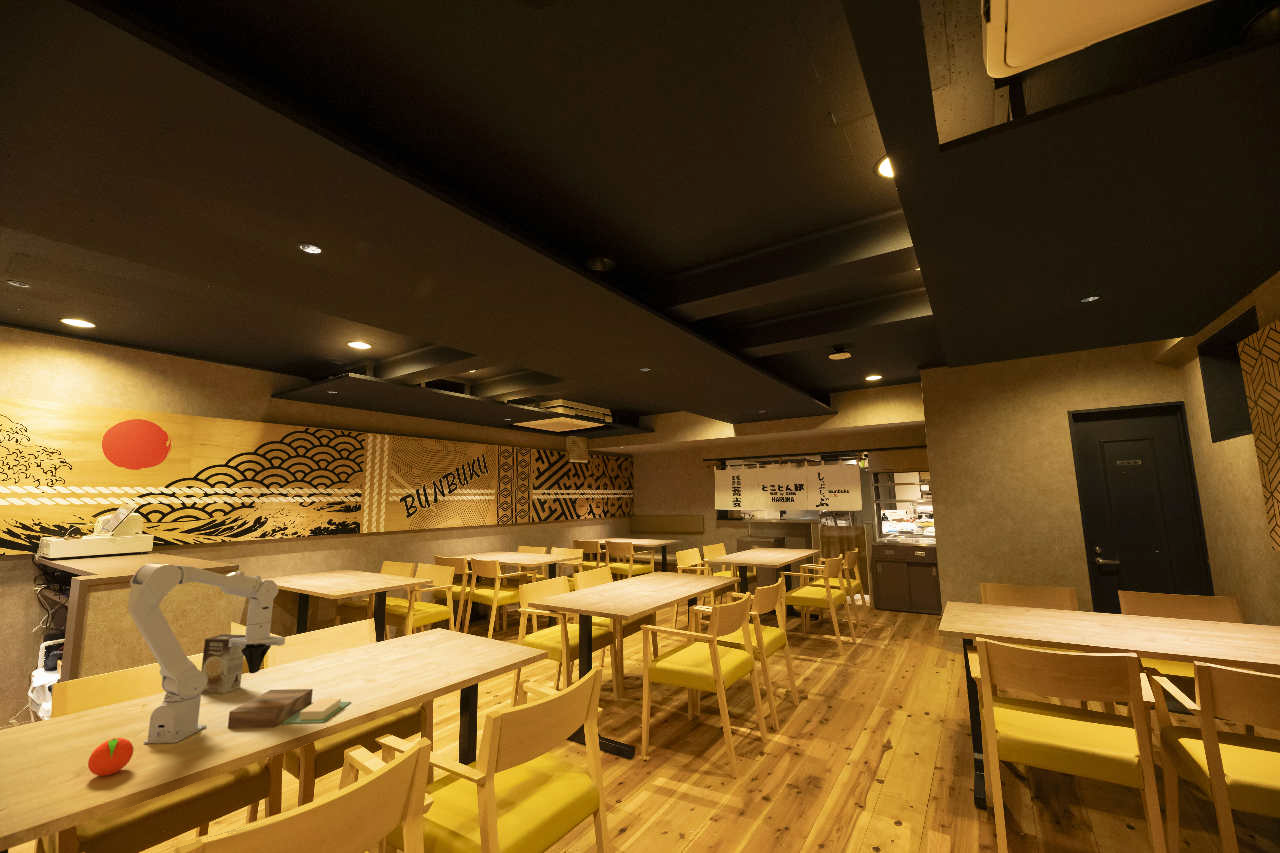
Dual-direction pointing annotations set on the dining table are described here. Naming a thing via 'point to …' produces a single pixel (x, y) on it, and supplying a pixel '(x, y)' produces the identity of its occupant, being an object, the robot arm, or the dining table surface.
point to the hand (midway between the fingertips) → (254, 672)
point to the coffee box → (222, 664)
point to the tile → (320, 709)
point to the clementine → (110, 756)
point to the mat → (295, 719)
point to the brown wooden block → (270, 708)
